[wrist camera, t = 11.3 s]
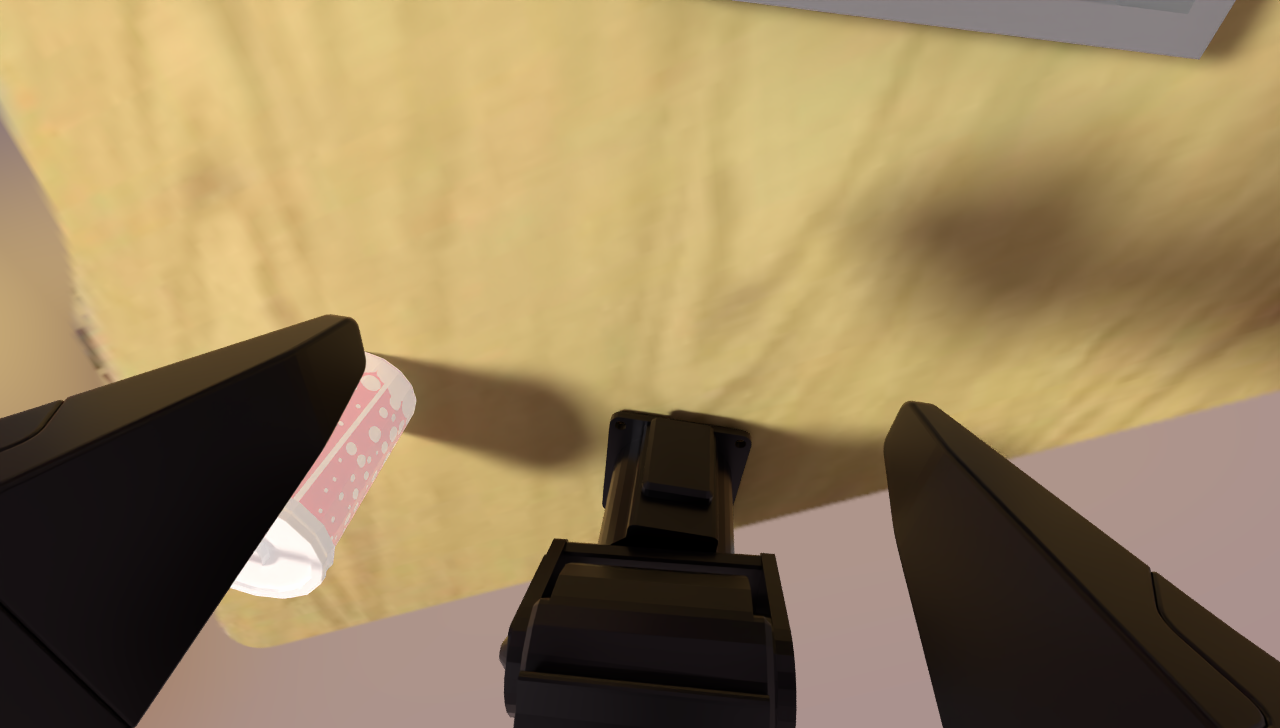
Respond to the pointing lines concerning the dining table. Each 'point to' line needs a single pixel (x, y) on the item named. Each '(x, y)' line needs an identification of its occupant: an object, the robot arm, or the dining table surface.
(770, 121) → the dining table surface
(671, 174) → the dining table surface
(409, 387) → the beverage cup
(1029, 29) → the tray
